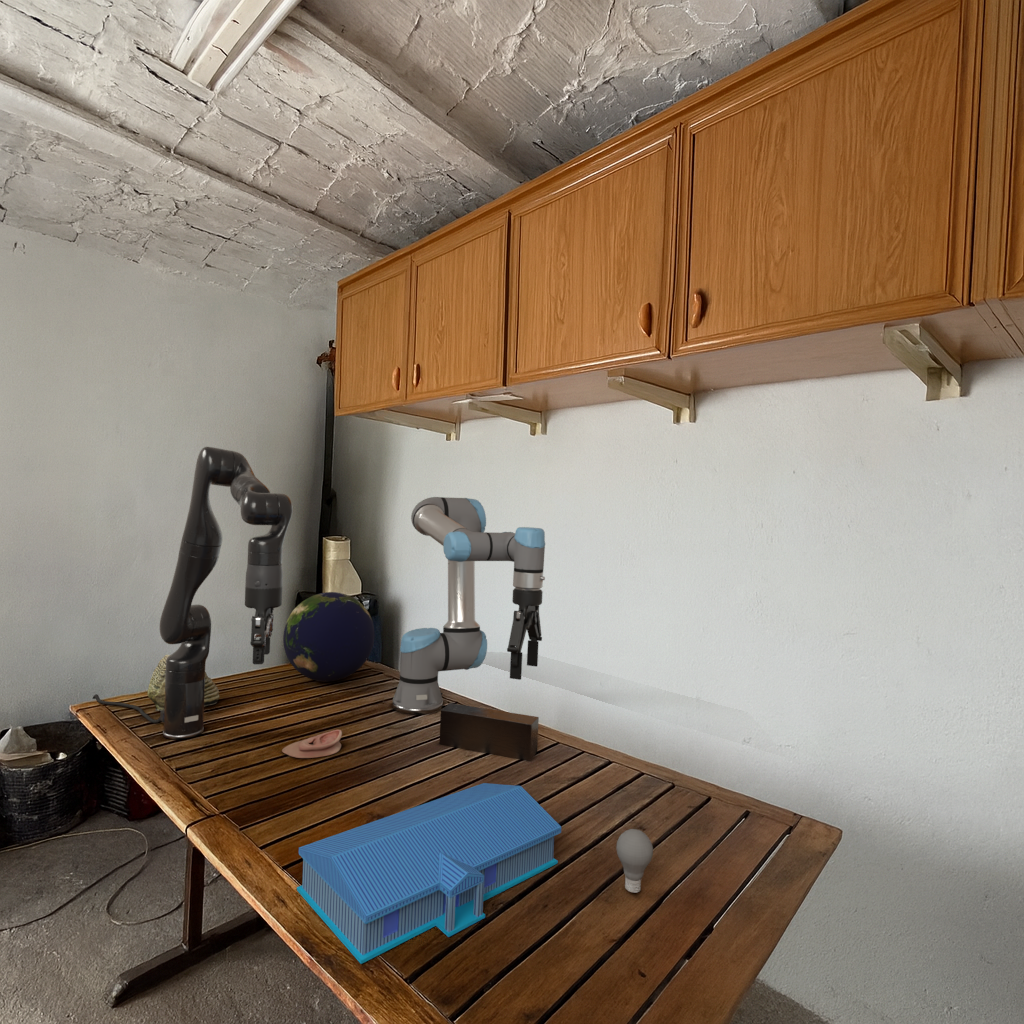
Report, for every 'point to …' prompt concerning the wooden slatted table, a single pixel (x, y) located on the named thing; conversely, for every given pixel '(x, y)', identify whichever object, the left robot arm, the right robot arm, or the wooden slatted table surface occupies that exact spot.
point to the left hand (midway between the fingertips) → (261, 658)
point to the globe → (328, 636)
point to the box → (489, 731)
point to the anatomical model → (315, 745)
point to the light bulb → (634, 857)
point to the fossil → (158, 687)
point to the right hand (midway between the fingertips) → (524, 672)
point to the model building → (426, 866)
